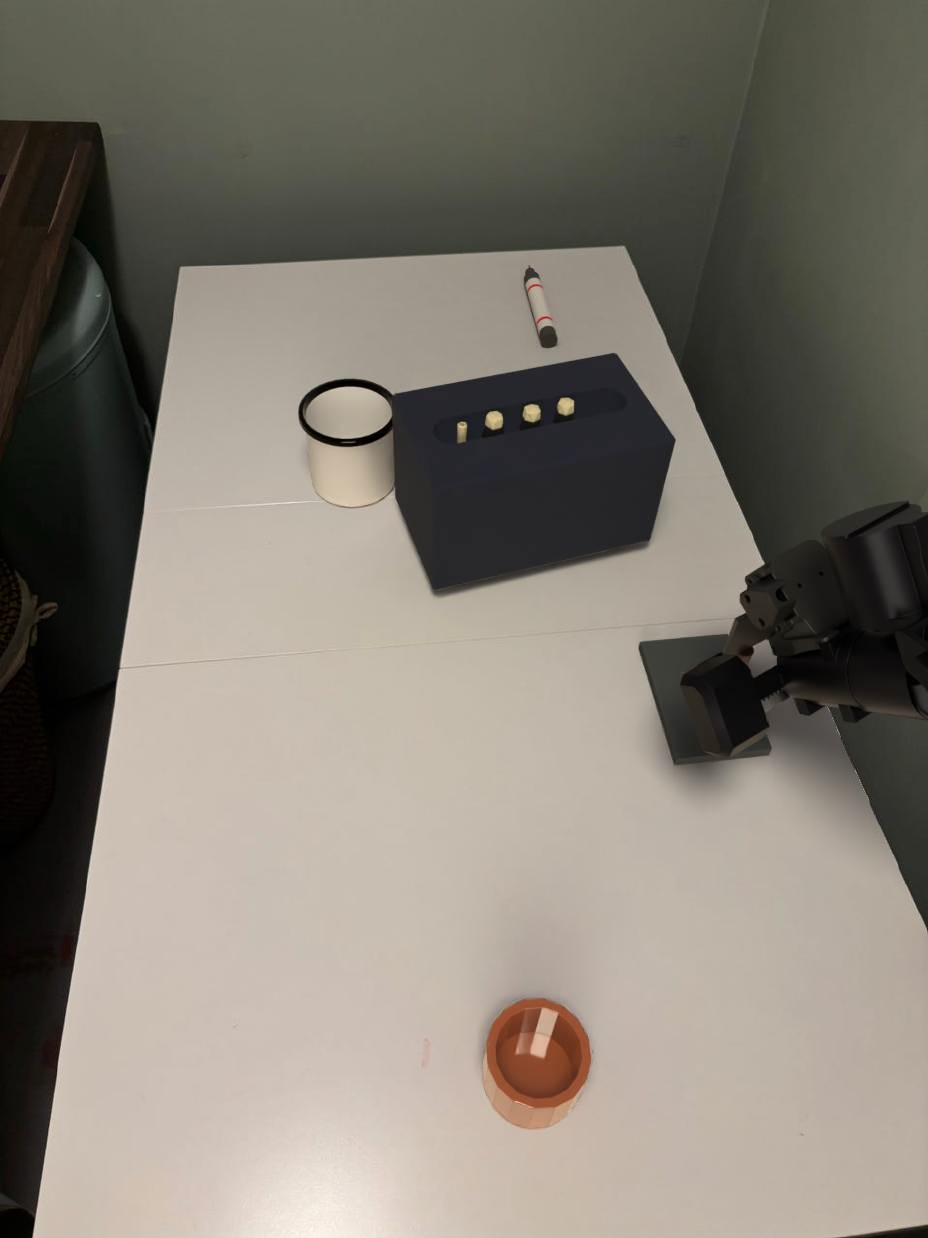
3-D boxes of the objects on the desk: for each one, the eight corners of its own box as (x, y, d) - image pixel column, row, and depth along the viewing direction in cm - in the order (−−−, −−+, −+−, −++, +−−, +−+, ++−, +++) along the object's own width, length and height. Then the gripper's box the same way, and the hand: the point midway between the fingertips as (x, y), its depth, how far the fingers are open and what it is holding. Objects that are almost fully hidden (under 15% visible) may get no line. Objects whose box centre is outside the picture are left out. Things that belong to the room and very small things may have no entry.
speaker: (596, 465, 102) (617, 342, 91) (649, 552, 95) (679, 431, 83) (394, 508, 98) (390, 384, 86) (433, 603, 90) (434, 482, 78)
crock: (599, 1071, 65) (611, 1047, 61) (539, 1153, 62) (547, 1133, 58) (524, 1005, 68) (530, 977, 63) (462, 1080, 65) (464, 1056, 60)
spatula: (745, 708, 83) (793, 600, 72) (701, 733, 81) (743, 627, 70) (733, 695, 83) (778, 587, 72) (689, 720, 82) (729, 612, 71)
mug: (308, 516, 97) (299, 445, 90) (305, 451, 102) (296, 380, 95) (430, 507, 98) (430, 436, 91) (420, 443, 104) (420, 372, 97)
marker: (557, 347, 115) (558, 332, 113) (540, 348, 115) (541, 333, 113) (535, 273, 124) (536, 259, 123) (519, 274, 124) (521, 259, 123)
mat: (769, 755, 81) (772, 749, 80) (674, 765, 80) (676, 759, 79) (725, 640, 88) (727, 633, 88) (638, 648, 87) (640, 641, 87)
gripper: (942, 498, 65) (778, 515, 80) (733, 612, 59) (595, 608, 73) (987, 651, 67) (820, 641, 82) (789, 779, 61) (644, 743, 75)
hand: (724, 654), depth 78 cm, fingers open, 8 cm apart
